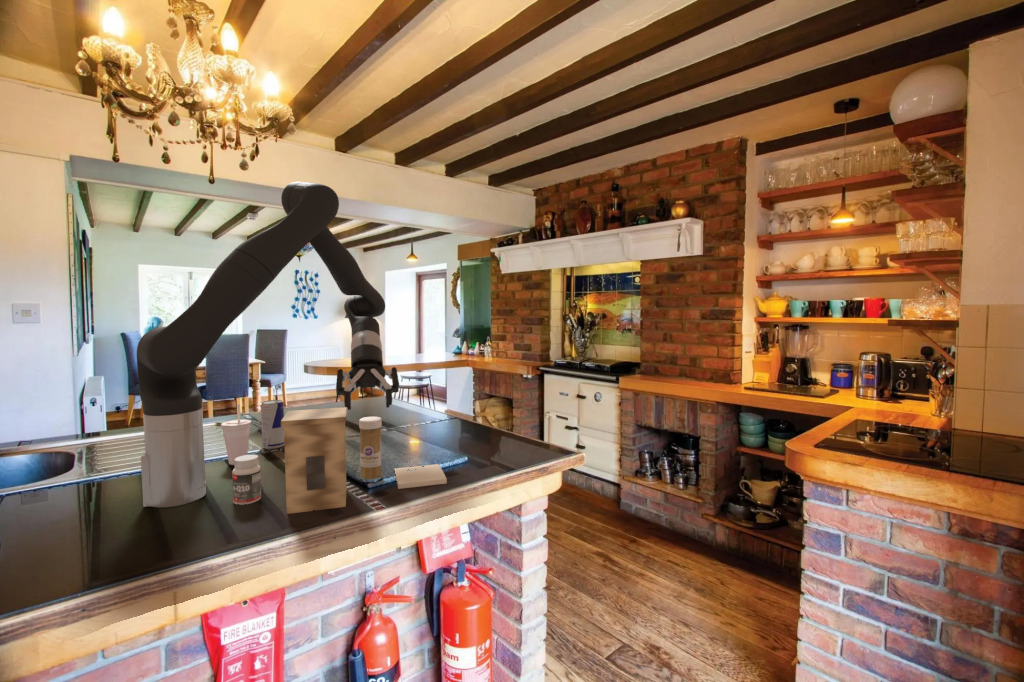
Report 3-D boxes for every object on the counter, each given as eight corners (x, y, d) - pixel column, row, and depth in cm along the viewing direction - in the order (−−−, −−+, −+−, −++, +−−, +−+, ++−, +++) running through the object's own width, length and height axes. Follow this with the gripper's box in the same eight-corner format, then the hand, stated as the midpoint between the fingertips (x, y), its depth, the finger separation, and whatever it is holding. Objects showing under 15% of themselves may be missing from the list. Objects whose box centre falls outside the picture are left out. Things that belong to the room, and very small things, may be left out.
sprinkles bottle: (360, 484, 100) (358, 421, 99) (360, 477, 105) (359, 416, 104) (383, 482, 102) (381, 419, 101) (382, 475, 106) (381, 415, 105)
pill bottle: (227, 504, 90) (225, 460, 90) (244, 494, 95) (243, 453, 94) (250, 506, 90) (248, 462, 89) (266, 496, 94) (265, 454, 94)
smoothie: (251, 464, 113) (249, 405, 112) (219, 468, 111) (217, 408, 110) (254, 456, 119) (252, 401, 118) (224, 459, 117) (222, 402, 116)
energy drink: (289, 445, 129) (287, 401, 128) (270, 450, 124) (268, 404, 123) (277, 442, 132) (275, 399, 131) (258, 447, 127) (256, 402, 126)
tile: (398, 488, 98) (398, 484, 98) (394, 472, 108) (394, 468, 107) (446, 483, 101) (446, 478, 101) (439, 468, 111) (438, 464, 111)
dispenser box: (284, 515, 86) (280, 421, 84) (290, 496, 94) (287, 410, 93) (348, 507, 89) (345, 416, 88) (348, 490, 97) (346, 407, 96)
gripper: (335, 343, 116) (335, 399, 106) (396, 342, 120) (401, 395, 110) (337, 363, 121) (336, 417, 111) (395, 361, 126) (399, 413, 116)
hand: (368, 406), depth 111 cm, fingers open, 8 cm apart
